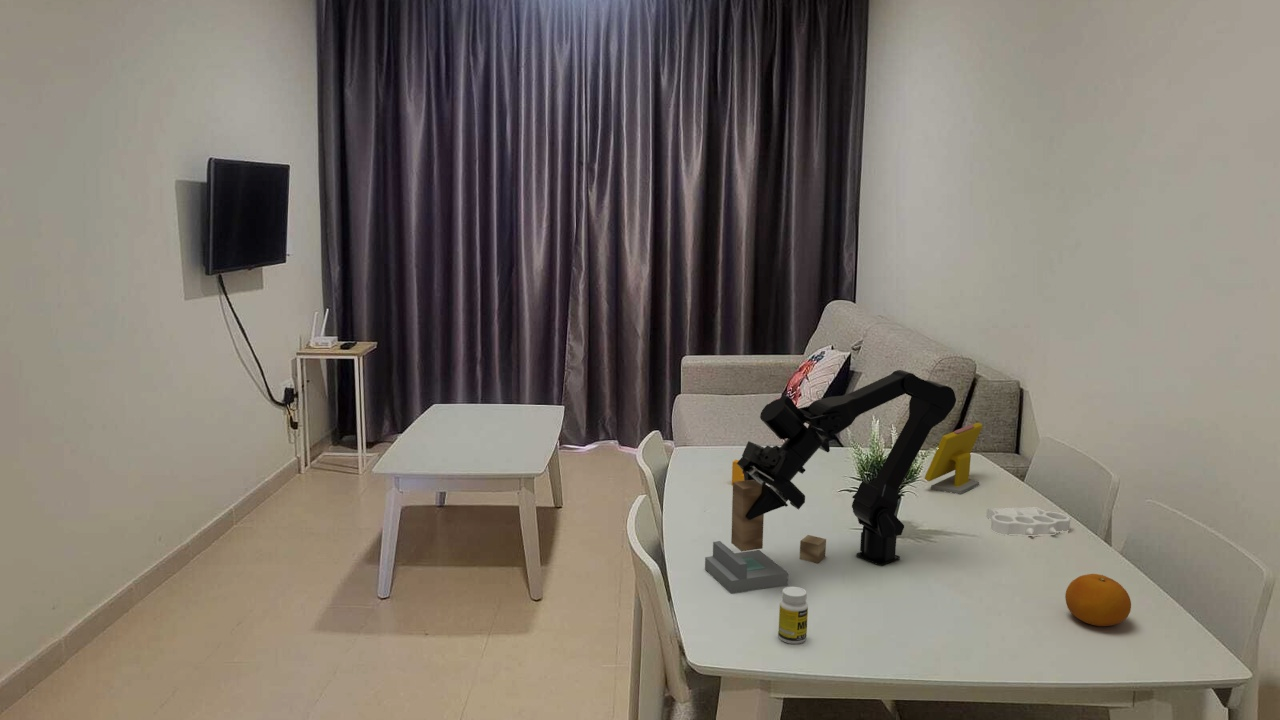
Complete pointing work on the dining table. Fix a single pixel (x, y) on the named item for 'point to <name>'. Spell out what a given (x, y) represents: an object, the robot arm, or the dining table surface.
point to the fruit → (1098, 600)
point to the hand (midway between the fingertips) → (741, 514)
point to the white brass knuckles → (1027, 521)
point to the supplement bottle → (793, 615)
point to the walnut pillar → (745, 530)
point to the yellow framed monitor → (954, 460)
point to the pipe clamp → (737, 472)
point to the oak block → (812, 548)
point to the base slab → (744, 569)
